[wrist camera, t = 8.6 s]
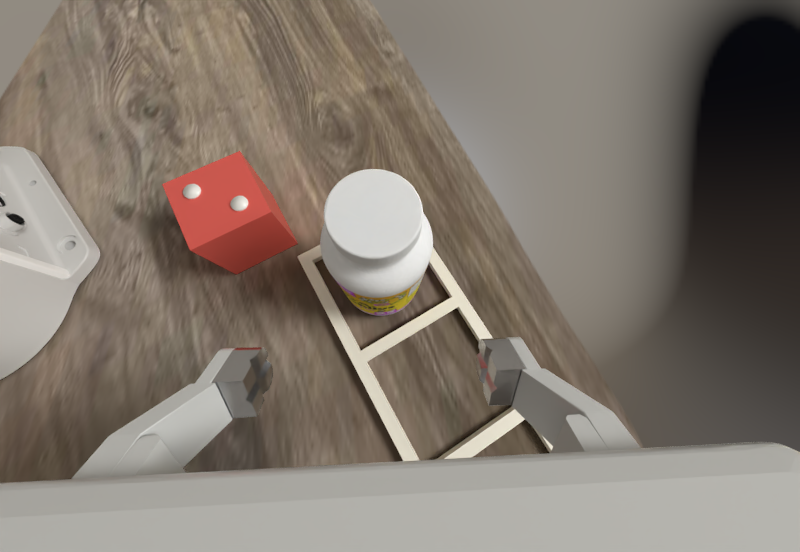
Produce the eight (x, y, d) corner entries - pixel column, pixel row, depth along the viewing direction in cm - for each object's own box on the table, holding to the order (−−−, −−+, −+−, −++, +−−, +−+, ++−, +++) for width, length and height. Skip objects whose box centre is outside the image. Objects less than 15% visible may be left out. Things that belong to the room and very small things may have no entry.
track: (299, 259, 26) (296, 256, 25) (403, 206, 28) (403, 202, 27) (496, 637, 19) (501, 649, 18) (617, 534, 21) (626, 541, 20)
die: (212, 221, 27) (160, 183, 21) (271, 194, 27) (238, 149, 22) (236, 274, 25) (188, 249, 19) (297, 243, 26) (270, 210, 20)
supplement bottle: (330, 294, 25) (270, 235, 13) (368, 234, 27) (347, 129, 14) (396, 331, 24) (402, 306, 12) (431, 266, 26) (466, 186, 14)
